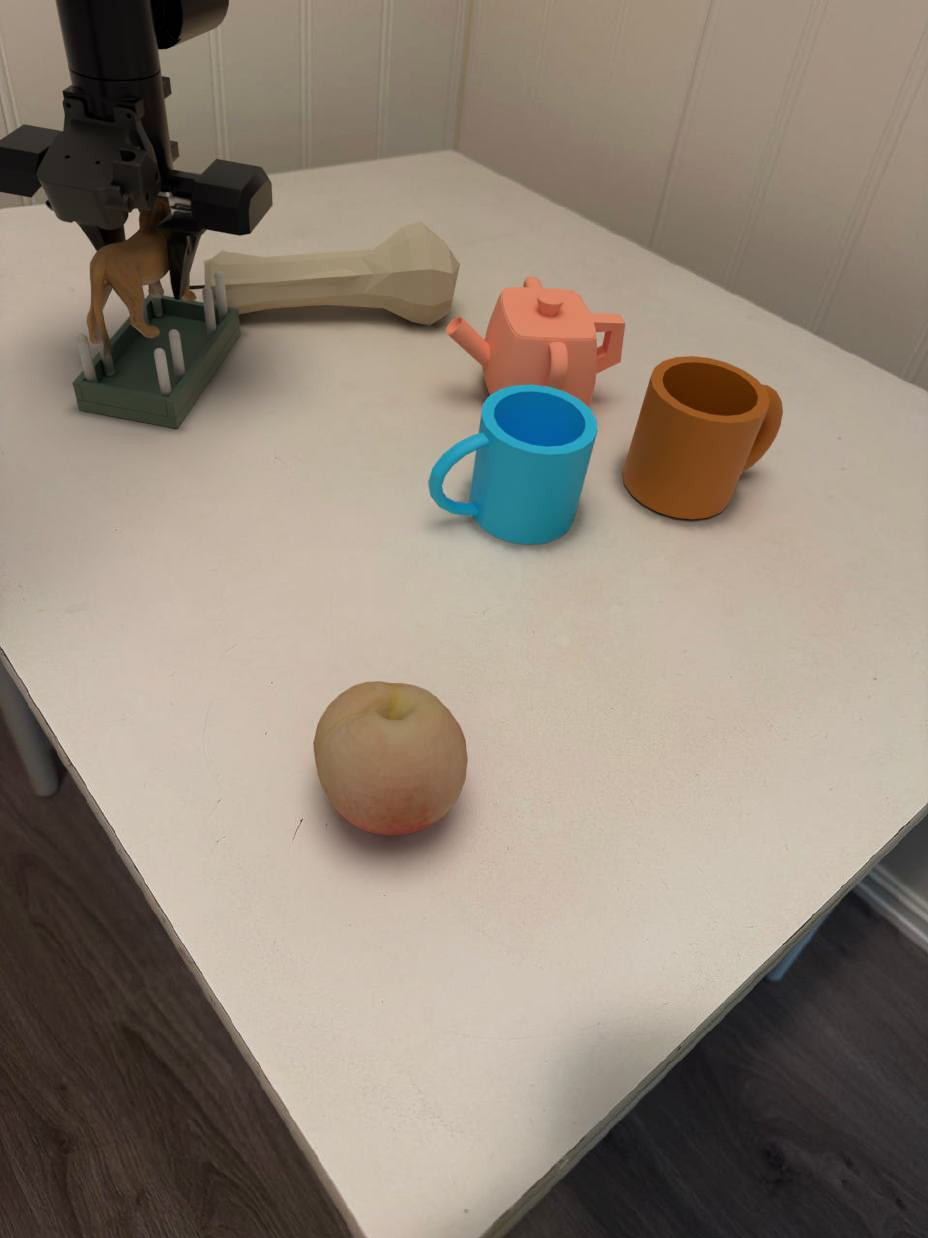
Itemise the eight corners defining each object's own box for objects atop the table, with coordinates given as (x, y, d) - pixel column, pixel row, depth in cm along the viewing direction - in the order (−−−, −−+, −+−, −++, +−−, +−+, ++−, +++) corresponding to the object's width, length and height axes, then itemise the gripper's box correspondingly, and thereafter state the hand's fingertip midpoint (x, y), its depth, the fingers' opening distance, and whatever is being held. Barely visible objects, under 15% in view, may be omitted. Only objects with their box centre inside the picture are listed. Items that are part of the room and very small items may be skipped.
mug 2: (783, 520, 69) (830, 425, 63) (637, 521, 67) (670, 423, 61) (745, 450, 75) (784, 356, 68) (610, 449, 73) (637, 352, 67)
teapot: (434, 397, 76) (443, 291, 68) (519, 349, 82) (536, 247, 75) (540, 460, 71) (562, 353, 64) (621, 403, 78) (649, 301, 71)
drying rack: (78, 410, 69) (60, 339, 65) (154, 318, 79) (143, 251, 75) (177, 428, 69) (166, 358, 64) (240, 334, 79) (234, 267, 74)
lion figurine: (155, 267, 74) (134, 154, 68) (216, 277, 74) (201, 165, 68) (75, 358, 65) (42, 238, 58) (145, 370, 64) (120, 251, 58)
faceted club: (469, 332, 81) (191, 348, 77) (451, 309, 88) (194, 323, 84) (470, 228, 77) (173, 239, 72) (450, 213, 84) (178, 223, 79)
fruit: (451, 734, 52) (466, 648, 46) (464, 859, 47) (482, 779, 41) (315, 737, 51) (312, 648, 45) (313, 865, 46) (309, 783, 40)
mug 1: (545, 466, 71) (564, 377, 65) (593, 532, 66) (619, 443, 60) (405, 492, 67) (411, 400, 61) (445, 564, 62) (457, 473, 56)
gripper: (-96, 78, 52) (-19, 320, 64) (209, 133, 52) (232, 367, 63) (1, 29, 60) (55, 254, 71) (268, 76, 59) (279, 295, 71)
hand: (151, 292), depth 69 cm, fingers closed on lion figurine, 4 cm apart
